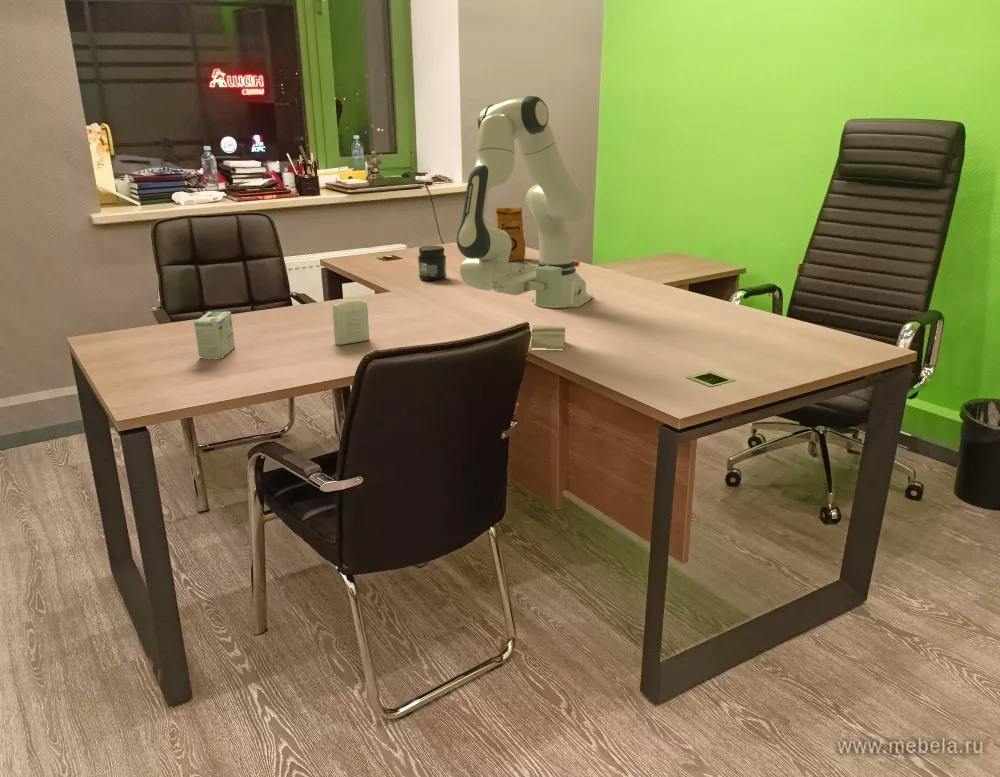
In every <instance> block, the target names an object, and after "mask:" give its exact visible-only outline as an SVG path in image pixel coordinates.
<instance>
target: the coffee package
mask: <svg viewBox="0 0 1000 777" xmlns="http://www.w3.org/2000/svg"><path fill="white" fill-rule="evenodd" d="M522 211H523V208H522V207H496V208H495V213H496V228H498V229H500V230H504V231H506V232H507V233H508V234H509V236H510V237H511V240H512V249H511V253H510V257H509V260H523V261H524V259H525V257H526V240H525V236H524V229H523V228H524V224H523V214H522V213H523V212H522Z"/></svg>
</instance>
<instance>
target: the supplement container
mask: <svg viewBox="0 0 1000 777" xmlns="http://www.w3.org/2000/svg"><path fill="white" fill-rule="evenodd" d="M418 253H419V255H418V257H417V260H418V277H419V280H421V281H423V280H424V281H423V282H437V281H436V280H441V281H443V279H444V280H445V279H446V278H447V265H446V264H447V263H446V259H447V256H446V255H445V247H444V246H442V245H424V246H420V247H418Z"/></svg>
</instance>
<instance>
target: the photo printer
mask: <svg viewBox="0 0 1000 777" xmlns="http://www.w3.org/2000/svg"><path fill="white" fill-rule="evenodd" d="M332 319H333V335H334V343H335V345H337V346H340V345H341V346H342V345H348V344H353V343H359V342H365V341H369V340H370V327H369V307H368V304H367V301H365V300H364V299H356V298H354V299H353V298H352V299H351V298H350V299H344V300H342V301H339V302H337V303H335V304H333V305H332Z"/></svg>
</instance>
